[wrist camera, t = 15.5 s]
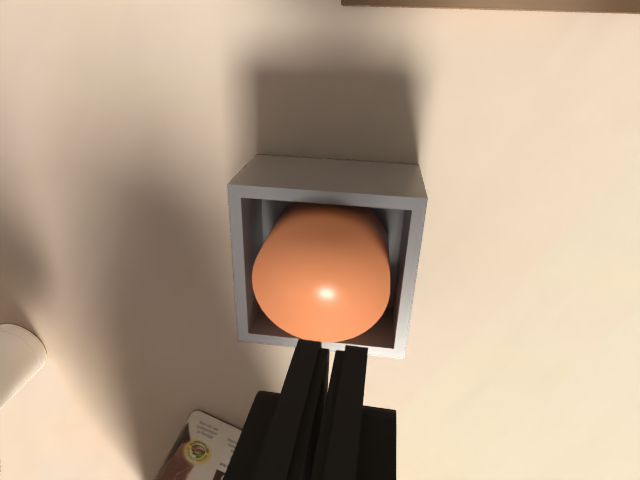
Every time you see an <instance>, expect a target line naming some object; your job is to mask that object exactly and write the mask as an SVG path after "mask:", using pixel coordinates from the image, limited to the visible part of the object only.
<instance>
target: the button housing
mask: <svg viewBox="0 0 640 480" xmlns="http://www.w3.org/2000/svg"><path fill="white" fill-rule="evenodd" d="M227 187H228V202H229V217H230V231H231V246H232V261H233V276H234V290H235V305H236V320H237V335H238V341H241V342H251V343H260V344H269V345H278V346H288V347H296V345H297V342H298V340H299V339H301V338H299V337H296V336H293V335H291V334H289V333H287V332H286V331H284V330H283V329H281V328H279V327H278V326H277V325H276V324H274V323H273V322H272V321H271V320H270V319H269V318H268V317H267V316H266V314H265V313H264V312H263V310H262V309H261V307H260V305H259V304H258V302H257V299H256V297H255V294H254V290H253V285H252V271H253V266H254V263H255V260H256V257H257V255H258V254H259V252H260V250H261V248H262V246H263V244H264V243H265V241H266V239H267V237H268V235H269V233H270V232H271V230H272V228H273V226H274V224H275V222H276V221H277V219H278V217H279V216H280V215H281V213H282V212H283V211H284V210H285V209H286V208H287V207H288V206H290V205H291V204H292V203H294V202H307V203H321V204H334V205H348V206H361V207H368V208H369V209H370V210H371V211H372V212H373V213H374V214H375V215H376V216H377V217H378V219H379V220H380V221H381V223H382V225H383V226H384V229H385V231H386V233H387V237H388V242H389V258H390V296H389V301H388V304H387V307H386V309H385V311H384V313H383V314H382V316H381V317H380V319H379V320H378V321H377V322H376V323H375V324H374V325H373V326H372V327H371V328H370V329H368V330H367V331H366V332H364V333H362V334H360V335H359V336H356V337H354V338H351V339H348V340H344V341H339V342H328V343H325V342H322V348H326V349H329V351H334V352H336V350H342V351H345V346H346V345H351V346H359V347H367V348H368V354H367V355H371V356H380V357H390V358H399V359H404V358H405V351H406V344H407V337H408V330H409V323H410V316H411V310H412V303H413V296H414V289H415V282H416V275H417V268H418V262H419V255H420V248H421V241H422V234H423V227H424V220H425V214H426V207H427V200H428V198H427V194H426V190H425V186H424V182H423V179H422V175H421V171H420V167H419V165H417V164H401V163H385V162H369V161H353V160H338V159H322V158H306V157H290V156H274V155H259V154H257V155H256V156H255V157H254V158H253V159H252V160H251V161H250V162H249V163H248V164H247V165H246V166H245V167H244V168H243V169H242V170H241V171H240V172H239V173H238V174H237V175H236V176H235V177H234V178H233V179H232V180H231V181H230V182H229V183H228V184H227ZM304 340H305V339H304Z"/></svg>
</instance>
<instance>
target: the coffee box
mask: <svg viewBox="0 0 640 480" xmlns="http://www.w3.org/2000/svg"><path fill="white" fill-rule="evenodd" d="M241 432H242V430H240V429H238V428H236V427H233V426H231V425H229V424H227V423H224V422H222V421H220V420H218V419H216V418H214V417H212V416H210V415H207V414H205V413H203V412H201V411H193V412H192V413H191V415H190V416H189V418H188V420H187V422H186V424H185V425H184V427H183V429H182V431H181V433H180V435H179V436H178V438H177V440H176V442H175V444H174V446H173V447H172V449H171V451H170V453H169V455H168V456H167V458H166V460H165V462H164V464H163V465H162V467H161V469H160V471H159V473H158V475H157V477H156V478H155V480H223V477H224V475H225V472H226V470H227V467H228V465H229V462H230V460H231V457H232V455H233V452H234V450H235V447H236V445H237V442H238V439H239V437H240V434H241Z"/></svg>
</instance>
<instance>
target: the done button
mask: <svg viewBox="0 0 640 480" xmlns="http://www.w3.org/2000/svg"><path fill="white" fill-rule="evenodd" d="M252 285H253V290H254V294H255V297H256V299H257V302H258V304H259V305H260V307H261V309H262V310H263V312H264V313H265V314H266V316H267V317H268V318H269V319H270V320H271V321H272V322H273V323H274V324H276V325H277V326H278V327H279V328H281V329H283V330H284V331H286V332H287V333H289V334H291V335H293V336H296V337H299V338H301V339H305V340H312V341H320V342H325V343H328V342H339V341H344V340H348V339H351V338H354V337H356V336H359V335H360V334H362V333H364V332H366V331H367V330H368V329H370V328H371V327H372V326H373V325H374V324H375V323H376V322H377V321H378V320H379V319H380V317H381V316H382V314H383V313H384V311H385V309H386V307H387V304H388V301H389V296H390V258H389V242H388V237H387V233H386V231H385V229H384V226H383V225H382V223H381V221H380V220H379V219H378V217H377V216H376V215H375V214H374V213H373V212H372V211H371V210H370V209H369V208H368V207H361V206H348V205H334V204H321V203H307V202H294V203H292V204H291V205H290V206H288V207H287V208H286V209H285V210H284V211H283V212H282V213H281V215H280V216H279V217H278V219H277V221H276V222H275V224H274V226H273V228H272V230H271V232H270V233H269V235H268V237H267V239H266V241H265V243H264V244H263V246H262V248H261V250H260V252H259V254H258V255H257V257H256V260H255V263H254V266H253V271H252Z"/></svg>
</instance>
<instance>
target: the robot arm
mask: <svg viewBox="0 0 640 480" xmlns="http://www.w3.org/2000/svg"><path fill="white" fill-rule="evenodd" d="M367 354H368V348H367V347H359V346H351V345H346V346H345V351H342V350H336V353H335V358H334V363H333V368H332V373H331V378H330V383H329V388H328V372H329V349H326V348H322V342H320V341H312V340H304V339H299V340H298V342H297V345H296V348H295V351H294V354H293V357H292V360H291V363H290V366H289V369H288V372H287V375H286V378H285V381H284V384H283V387H282V391H281V394H280V393H273V392H267V391H259V392H258V393H257V395H256V397H255V399H254V402H253V404H252V407H251V409H250V412H249V414H248V417H247V419H246V422H245V424H244V427H243V429H242V432H241V434H240V437H239V439H238V442H237V445H236V447H235V450H234V452H233V455H232V457H231V460H230V462H229V465H228V467H227V470H226V472H225V475H224V477H223V480H396V410H391V409H384V408H377V407H370V406H363V397H364V386H365V375H366V365H367ZM327 391H328V393H327Z"/></svg>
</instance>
